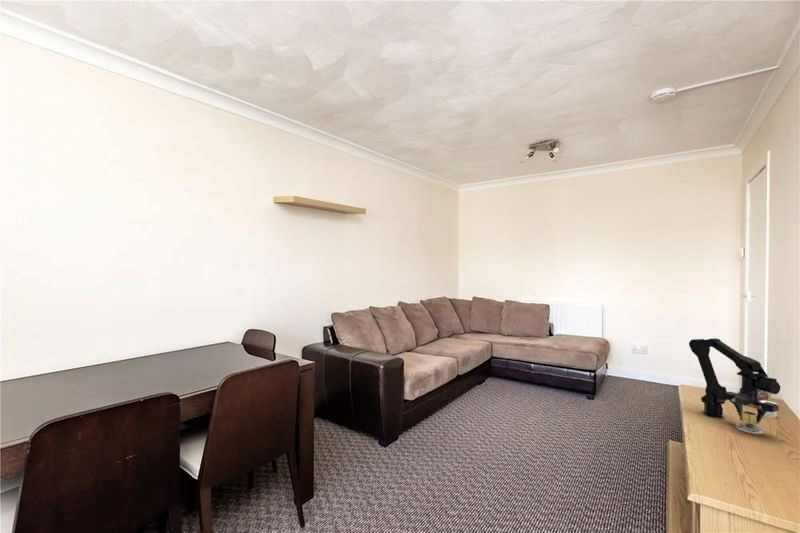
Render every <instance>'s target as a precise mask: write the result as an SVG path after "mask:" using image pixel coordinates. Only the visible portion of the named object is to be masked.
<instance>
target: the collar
mask: <svg viewBox="0 0 800 533" xmlns="http://www.w3.org/2000/svg"><path fill="white" fill-rule="evenodd" d="M757 416H758V412H754V411H750V410H745V409H744V410H743V409H742V411H740V416H739V420H740V421H741V422H742V423H748V424H753V425H755V426H758V425H759V424H760V422H757Z"/></svg>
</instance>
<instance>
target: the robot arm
mask: <svg viewBox="0 0 800 533" xmlns="http://www.w3.org/2000/svg"><path fill="white" fill-rule="evenodd" d="M688 346H689V348H690V350H691V353H693V354H694V355H695V356H696V357H697V360H698V363H699V366H700V369H701V371H702V375H703V377H704V380H705V384H706V387H705V395H703V396H701V397H700V399H701V402H702V403H703V406H704V407H703V408H704V409H703V410H702V413H704V414H705V415H706V416H707V417H712V418H713V417H714V418H722V419H723V418H724V416H723V411H724V407H723V406H722V405H725V402H726V401H729V402H730V403H731V404H732V405H733V406H734V407H735V410H736V412H737V414H738V416H739V417H740V411H742V410H743V406H745V407H747V406H748V405H749V404H754V405H757V406H759V407H760V408H756V410H757V414H758V416H757V422H759V423H760V422H761V421H762V419H763V417H765V416H764V414H765V413H766V412H775V411H777V412H778V411H779V404H778V403H777V404H778V405H777V404H774V403H775V402H774V403H770V402H764V403H762V402H758V401H759V398H758V392H760V390H762V391H765V392H768V393H771V395H778V394H779V392H780V391H781V385H780V383H779V382H778V381H777V378H773V377H769V376H768V374H767V373H766V371H765V370H764V368H763V367H762V364H761V362H759V361H758V360H756V359H754V358H751V357H749V356H746V355H743V354H741V353H739V352H738V351H737V350H736V349H733V347H731V346H729V345H727V344H726V343H724V342H723V341H722V340H721V339H719V338H708V339H705V338H698V339H696V338H694V339H691V340H690V341H689V342H688ZM711 348H713V349H714V350H716V351H717V352H719V353H720V354H722V355H723V356H725V357H726V358H728V359H729V360H731V361H732V362H733V363H734V365H735V367H737V368H738V369H739V370H740V371H738V372H736V375H737V376H741V387H740V388H739V392H737V393H736V392H733V391H727V388H726V386H722V385H721V384H720V383H719V379H718V378H717V374H716V373H715V370H714V366H713V364H712V361H711V358H710V351H711ZM748 407H749V406H748Z"/></svg>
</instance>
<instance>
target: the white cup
mask: <svg viewBox="0 0 800 533" xmlns="http://www.w3.org/2000/svg"><path fill="white" fill-rule="evenodd" d="M760 402H762V403H764V402H770V403H774V404H777V405H778V406H779V404H778V403H777V402H774V401H765V400H760ZM777 413H778V411H775V412H766V413H765V414H764V416H763V417H765V418H768V419H769V418H770V419H777V415H778V414H777Z"/></svg>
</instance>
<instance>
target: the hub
mask: <svg viewBox="0 0 800 533" xmlns="http://www.w3.org/2000/svg"><path fill="white" fill-rule="evenodd" d="M734 426H735V428H736V429H738V430H739V431H741V432H745V433H747V432H748V434H753V435H764V434H765V430H764V429H762V428H760V427H759V426H758V425H754V424H748V423H745V422H740V423H735V424H734Z"/></svg>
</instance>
